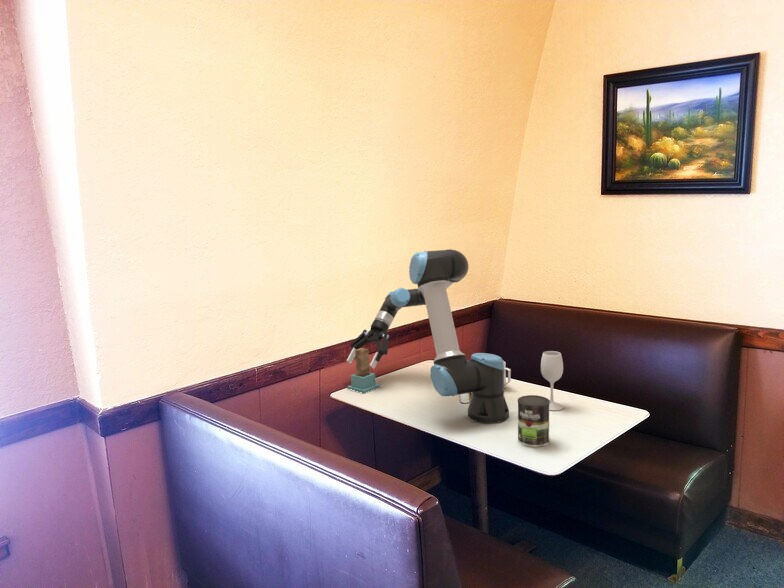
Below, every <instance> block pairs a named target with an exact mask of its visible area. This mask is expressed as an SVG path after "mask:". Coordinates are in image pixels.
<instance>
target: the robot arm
mask: <svg viewBox="0 0 784 588" xmlns="http://www.w3.org/2000/svg"><path fill="white" fill-rule="evenodd" d="M408 269H409V270H408V274H409V279H410V281H411V283H412V284H413V285H417V288H411V289H409V288H407V289H406V288H404V287H398V288H396V289H395V290H394V291H390V292H388V294H387V295H386V296H385V298H384V301H383V303H382V305H381V306H380V308H379V310H378V312H377V313H376V316H375V318H374V320H373V321H372V323H371V325H370V330H369V331H368V330H367V329H365V328H364V329H363V331H362V332H361V333H360V334H359V335H358V336H357V337H356V338H355V339H354V340H353V341H352V342H351V343H350V344H349V346H350V347H351V349H350V352H349V354H348V357H347V359H346V362H347V363H349V364H350V365H351V364H353V361H354V360H355V359H356V354H355V350H357V349H360V348H363V346H365V345H367V344H368V343H374V344H375V343H376V347H377V351H376V352H375V353H374V356H373V358H372V360H371V362H369V367H371V368H372V369H375V368H376V366H377V364H378V362H380V361H381V359H382V356H385V355H388V350H389V349H388V348H389V339H390V337H391V336H390V335H389V334H388V331H389V329H390V328H389V327H391V325H392V323H393V321H394V319H395V317H396V316H397V314H398V312H399V311H400V310H401V309H402V308H409V307H419V306H425V307H426V311H427V316H428V320H429V321H428V322H429V326H430V331H431V335H432V340H433V346H434V349H435V355H436V356H435V358H434V360H433V365H432V366H431V367H430V376H429V377H430V380H431V384H432V386H433V388H434V389H435V392H437V393H438V394H439V395H440V396H441V397H454V396H459V395H463V394H470V393H471V398H470V401H469V405H468V407H467V417H468V419H469V420H472V421H474V422H477V423H481V424H483V423H484V424H498V423H501V422H504V421H506V420H508V419H510V418H509V417H510V410H509V407H508V404H507V401H506V397H505V388H504V364H503V361H504V360H503V358H502V357H501V356H499V355H496V354H493V353H487V352H476V353H475V352H474V353H472V354H471V356H470V359H467V358H466V354H465V353H463V351H461V350H460V346H459V341H458V336H457V331H456V327H455V324H454V318H453V314H452V313H453V312H452V310H451V306H450V300H449V296H448V292H447V289H448V288H450V286H452V285H453V284H454V283H458V282H460V281H462V280H463V279H464V278H465V277H466V276H467V274H468V271H469V262H468V259H467V257H466V256H465V255H464V254H463V253H462V252H461V251H458V250H456V249H452V248H451V249H442V250H441V249H439V250H428V251H427V250H424V251H420V252H415V253H414V254H413V255H412V257H411V259H410V263H409V267H408Z"/></svg>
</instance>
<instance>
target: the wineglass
mask: <svg viewBox="0 0 784 588" xmlns="http://www.w3.org/2000/svg"><path fill="white" fill-rule="evenodd" d="M563 361H564V360H563V356H562V353H561V352H559V351H554V350H548V351H547V350H546V351H543V352H542V355H541V360H540V374H541V375H542V377H543V379H545V380H546V381H547V382H549V384H550V386H549V387H550V397H549V400H550V404H549V411H561V410H563V409H564V408H565V406H564V405H563V404H562V403H560V402H557V401H555V400H554V384H555V382H557V381H559V380H560V379H561V378H562V377H563V376H562V375H563V373H564V362H563Z"/></svg>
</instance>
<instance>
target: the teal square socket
mask: <svg viewBox="0 0 784 588" xmlns="http://www.w3.org/2000/svg"><path fill="white" fill-rule="evenodd" d="M350 380H351V381H350V383H351V385H347V386H346V387H347V390H348V389H352V390H355V391H354V392H356V391H358V392H357V393H360V392H362V393H361V394H367V393H369V392H372V391H374V390H377V389H379V388H381V384H379V383H377V382H376V373H375V372H370V375H368V376H365V377H361V376H357V373H356V372H355V373H353V374H351V375H350ZM376 388H377V389H376ZM373 389H374V390H373ZM352 390H351V391H352ZM371 390H372V391H371ZM368 391H369V392H368ZM366 392H367V393H366Z"/></svg>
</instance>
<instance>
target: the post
mask: <svg viewBox="0 0 784 588" xmlns="http://www.w3.org/2000/svg"><path fill="white" fill-rule="evenodd" d="M369 352H370V350H369V349H368V348H364V347H361V348H359V349H357V350H355V354H356V356H355V371H356V372H355V374H356V373H357V376H361V377H365V376H368V375H370V373H371V371H370V354H369Z"/></svg>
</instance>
